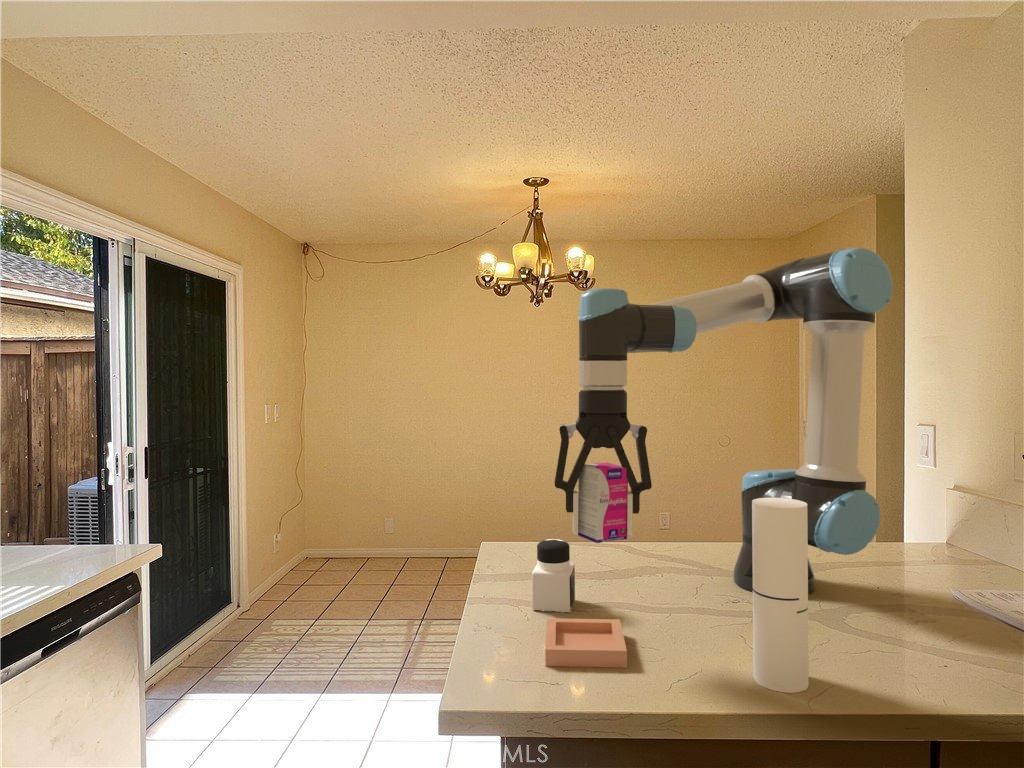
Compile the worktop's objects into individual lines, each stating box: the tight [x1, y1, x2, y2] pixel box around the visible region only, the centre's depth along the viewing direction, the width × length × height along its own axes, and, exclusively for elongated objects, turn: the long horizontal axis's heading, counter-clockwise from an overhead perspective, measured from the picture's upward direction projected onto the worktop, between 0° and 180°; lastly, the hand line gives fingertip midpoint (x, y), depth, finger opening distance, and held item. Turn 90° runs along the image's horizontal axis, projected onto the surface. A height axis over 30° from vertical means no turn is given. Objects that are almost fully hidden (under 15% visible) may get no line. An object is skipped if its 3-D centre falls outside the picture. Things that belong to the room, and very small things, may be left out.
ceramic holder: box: [544, 618, 628, 669], centre depth 102 cm, size 12×12×2 cm
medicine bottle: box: [531, 538, 576, 613], centre depth 121 cm, size 7×7×12 cm
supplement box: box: [577, 462, 629, 544], centre depth 102 cm, size 6×6×12 cm
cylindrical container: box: [752, 498, 810, 694], centre depth 91 cm, size 7×7×25 cm
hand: (602, 533), depth 102 cm, fingers closed on supplement box, 8 cm apart
